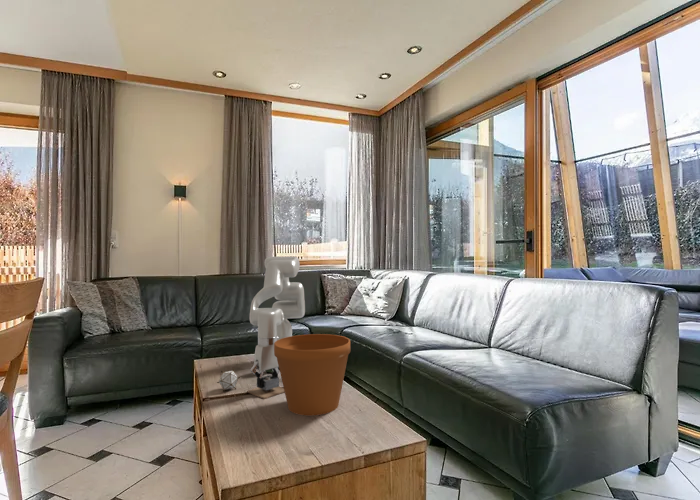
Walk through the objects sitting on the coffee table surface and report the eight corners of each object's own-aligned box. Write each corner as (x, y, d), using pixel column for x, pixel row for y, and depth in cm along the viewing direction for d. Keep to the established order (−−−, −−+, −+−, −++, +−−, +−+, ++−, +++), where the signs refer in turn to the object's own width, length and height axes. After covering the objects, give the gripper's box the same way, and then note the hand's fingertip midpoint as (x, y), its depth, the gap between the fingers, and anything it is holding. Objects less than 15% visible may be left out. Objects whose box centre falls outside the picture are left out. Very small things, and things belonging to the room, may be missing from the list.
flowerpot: (268, 398, 152) (268, 337, 153) (336, 388, 162) (335, 331, 163) (283, 427, 126) (282, 353, 127) (363, 413, 136) (362, 345, 137)
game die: (223, 399, 163) (208, 380, 163) (237, 386, 170) (223, 368, 170) (234, 392, 158) (219, 373, 158) (248, 379, 165) (233, 360, 165)
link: (269, 383, 165) (269, 374, 165) (279, 386, 160) (278, 377, 161) (256, 387, 160) (256, 378, 160) (266, 390, 156) (266, 381, 156)
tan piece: (271, 385, 169) (271, 371, 169) (288, 391, 160) (288, 377, 161) (247, 392, 160) (246, 378, 160) (264, 399, 152) (264, 384, 152)
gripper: (278, 336, 170) (279, 378, 169) (243, 343, 157) (244, 388, 156) (289, 338, 164) (290, 381, 164) (254, 346, 152) (255, 392, 151)
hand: (267, 384), depth 160 cm, fingers closed on link, 6 cm apart
